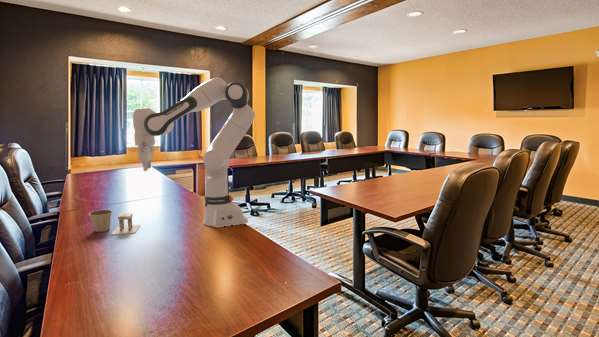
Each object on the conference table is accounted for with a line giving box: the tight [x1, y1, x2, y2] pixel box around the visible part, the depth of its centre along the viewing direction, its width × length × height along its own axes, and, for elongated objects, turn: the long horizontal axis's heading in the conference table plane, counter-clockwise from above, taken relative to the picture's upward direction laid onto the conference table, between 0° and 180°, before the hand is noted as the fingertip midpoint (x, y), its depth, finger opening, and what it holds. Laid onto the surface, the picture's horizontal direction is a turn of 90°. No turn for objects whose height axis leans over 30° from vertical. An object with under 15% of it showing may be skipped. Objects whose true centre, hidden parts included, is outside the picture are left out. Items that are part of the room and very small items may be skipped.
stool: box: [117, 212, 133, 231], centre depth 155 cm, size 5×5×7 cm
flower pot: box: [88, 209, 113, 233], centre depth 154 cm, size 9×9×9 cm
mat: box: [110, 224, 141, 236], centre depth 155 cm, size 10×12×1 cm
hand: (147, 169), depth 162 cm, fingers open, 8 cm apart
